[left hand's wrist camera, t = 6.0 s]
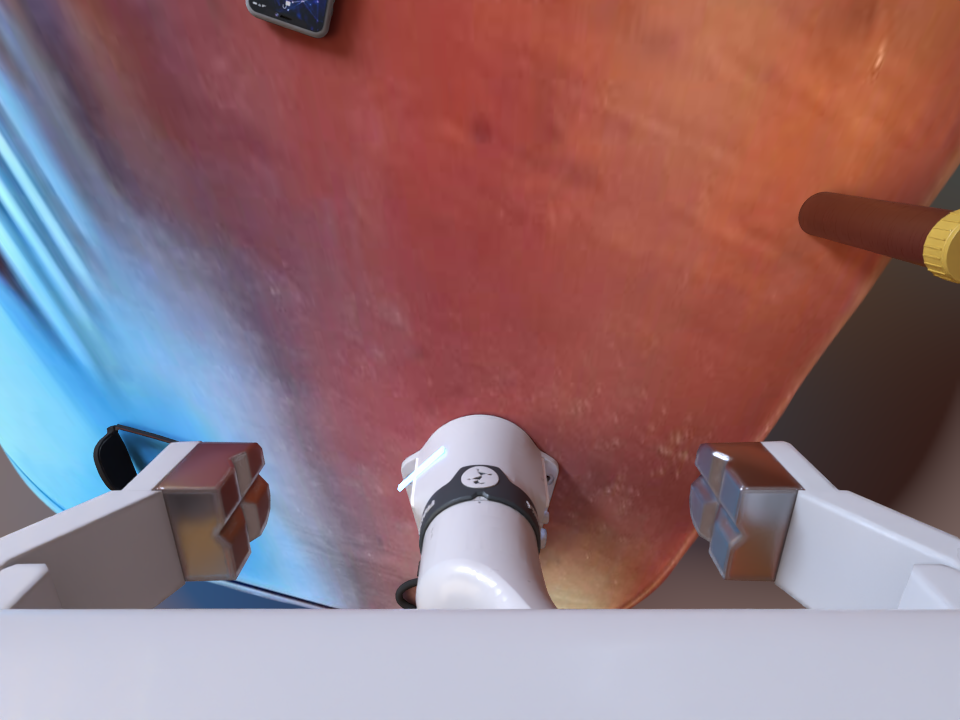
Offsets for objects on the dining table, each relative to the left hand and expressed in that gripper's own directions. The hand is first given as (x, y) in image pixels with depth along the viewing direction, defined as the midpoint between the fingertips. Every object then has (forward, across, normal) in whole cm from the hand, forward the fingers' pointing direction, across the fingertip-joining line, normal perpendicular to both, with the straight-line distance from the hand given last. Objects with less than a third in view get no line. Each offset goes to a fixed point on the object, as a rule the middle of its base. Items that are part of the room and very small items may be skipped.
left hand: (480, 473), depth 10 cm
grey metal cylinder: (+48, +34, -1) cm, 59 cm away
